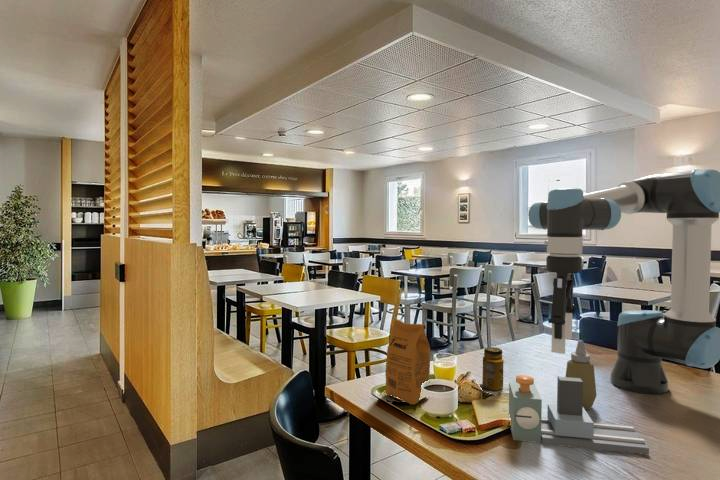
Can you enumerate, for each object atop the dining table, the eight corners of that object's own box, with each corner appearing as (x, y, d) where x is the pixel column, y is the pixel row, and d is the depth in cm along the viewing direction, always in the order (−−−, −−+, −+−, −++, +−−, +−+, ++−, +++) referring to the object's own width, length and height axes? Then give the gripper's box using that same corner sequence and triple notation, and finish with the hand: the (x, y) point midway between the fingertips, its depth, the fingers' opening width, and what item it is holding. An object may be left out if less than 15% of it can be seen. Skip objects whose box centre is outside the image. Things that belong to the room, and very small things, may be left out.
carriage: (582, 420, 107) (583, 373, 107) (593, 438, 98) (594, 387, 98) (547, 417, 109) (548, 371, 109) (555, 435, 100) (556, 384, 100)
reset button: (532, 389, 107) (532, 375, 107) (534, 395, 103) (535, 381, 103) (514, 388, 108) (514, 374, 108) (516, 394, 104) (517, 380, 104)
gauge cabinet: (533, 423, 110) (534, 383, 110) (541, 443, 100) (542, 400, 99) (508, 420, 111) (509, 382, 111) (513, 441, 101) (514, 398, 101)
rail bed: (629, 431, 106) (629, 422, 106) (648, 454, 95) (649, 445, 95) (534, 422, 111) (534, 414, 110) (542, 443, 100) (542, 434, 100)
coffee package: (402, 386, 135) (403, 315, 134) (434, 398, 126) (435, 322, 125) (379, 394, 128) (379, 320, 128) (411, 408, 119) (411, 327, 118)
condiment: (509, 389, 133) (509, 350, 132) (490, 395, 128) (491, 354, 128) (490, 382, 139) (490, 344, 138) (471, 387, 134) (471, 348, 134)
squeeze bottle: (595, 414, 115) (596, 346, 114) (561, 407, 119) (562, 342, 119) (597, 403, 122) (598, 339, 121) (565, 397, 126) (566, 335, 126)
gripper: (554, 251, 115) (552, 332, 116) (537, 257, 94) (535, 356, 95) (586, 252, 111) (584, 336, 112) (576, 259, 90) (574, 362, 91)
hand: (562, 345), depth 103 cm, fingers open, 13 cm apart
